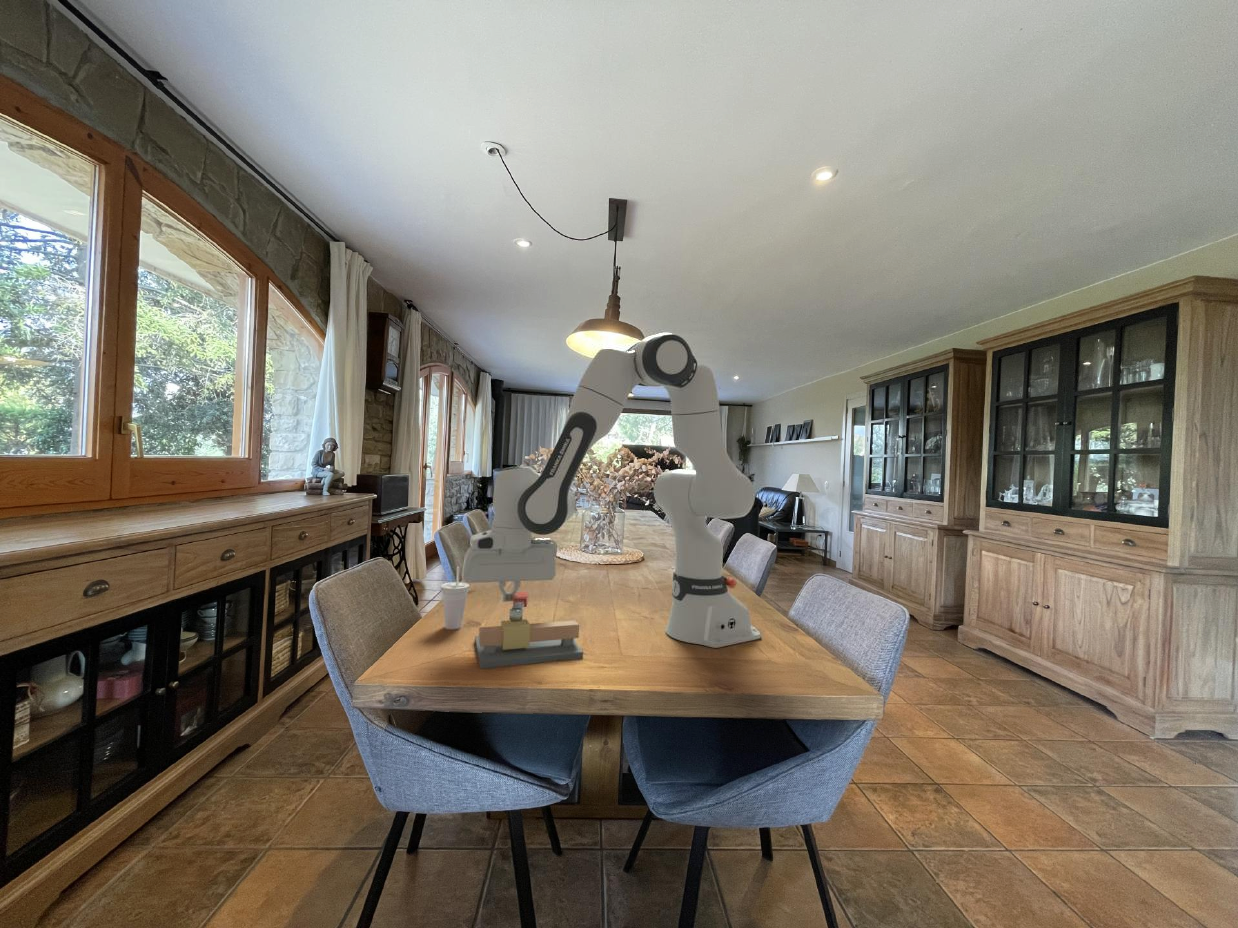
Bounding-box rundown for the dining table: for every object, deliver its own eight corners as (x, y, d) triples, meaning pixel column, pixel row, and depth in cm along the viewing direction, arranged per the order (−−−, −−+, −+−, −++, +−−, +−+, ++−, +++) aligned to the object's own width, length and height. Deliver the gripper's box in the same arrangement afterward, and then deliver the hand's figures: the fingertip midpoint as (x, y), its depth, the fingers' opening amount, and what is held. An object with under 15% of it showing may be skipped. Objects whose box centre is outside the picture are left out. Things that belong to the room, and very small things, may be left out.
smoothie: (458, 632, 111) (461, 570, 111) (433, 629, 112) (435, 568, 112) (472, 623, 117) (475, 565, 117) (448, 620, 118) (450, 562, 118)
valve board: (565, 634, 113) (566, 603, 113) (582, 657, 100) (584, 623, 100) (474, 641, 105) (476, 609, 105) (480, 668, 92) (482, 631, 92)
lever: (522, 620, 98) (522, 609, 98) (508, 620, 98) (508, 609, 98) (528, 602, 111) (528, 592, 111) (516, 601, 111) (516, 592, 111)
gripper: (554, 536, 115) (551, 594, 115) (463, 536, 108) (460, 599, 108) (560, 540, 109) (557, 602, 109) (464, 541, 102) (461, 607, 102)
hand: (508, 600), depth 109 cm, fingers closed
